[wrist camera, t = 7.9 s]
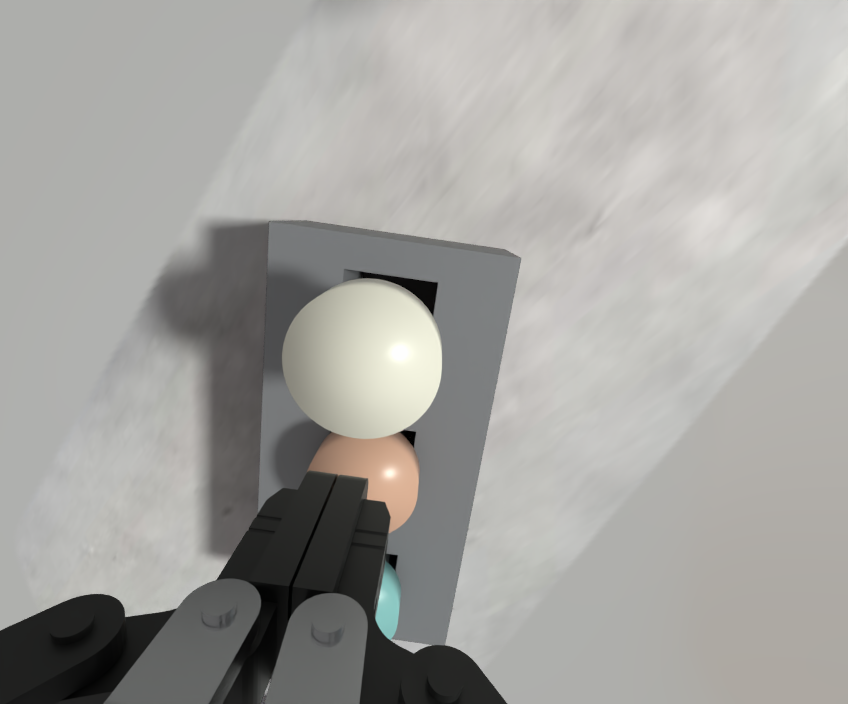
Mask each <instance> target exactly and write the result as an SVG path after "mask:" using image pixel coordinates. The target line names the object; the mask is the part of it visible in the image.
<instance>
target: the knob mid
mask: <svg viewBox="0 0 848 704" xmlns="http://www.w3.org/2000/svg"><path fill="white" fill-rule="evenodd" d="M407 432H408V431H407V430H402V431H400V432H397V433H395V434H393V435H389V436H386V437H381V438H375V439H359V438H351V437H346V436H342V435H339V434H336V433H334V432H331V433H330V434H329V435H328V436H327V437H326V438H325V439H324V440H323V442H322V443H321V445H320V447H319V449H318V451H317V453H316V454H315V456H314V458H313V460H312V462H311V464H310V466H309V468H308V470H307V472H308V471H309V470H311V471H318V472H325V473H332V474H338V476H339V475H348V476H355V477H362V478H368V493H367V499H368V500H375V501H382V502H385V503H386V506H387V508H388V511H389V513H390V516H391V520H390V528H389V533H391V532H392V531H394V530H396V529H397V528H399V527H400V526H402V525H403V524H404V523H405V522H406V521H407V519H408V518H409V517H410V516H411V514H412V512H413V510H414V508H415V505H416V502H417V496H418V485H419V473H420V467H419V460H418V457H417V454H416V452H415V450H414V448H413V446H412V445H411V443H410V442H409V441H408V440H407Z"/></svg>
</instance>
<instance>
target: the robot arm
mask: <svg viewBox="0 0 848 704" xmlns="http://www.w3.org/2000/svg"><path fill="white" fill-rule="evenodd" d="M367 493H368V478H362V477H355V476H348V475H339V476H338V474H332V473H325V472H318V471H311V470H309V471H308V472H307V473H306V475H305V477H304V479H303V480H302V482H301V484H300V486H299V488H298V490H296V489H289V488H282V489H281V490H279V491H278V492H277V493H275V494H274V495H272V496H271V497H270V498H268V499H267V500H266V501H265V503H264V505H263V506H262V508H261V509H260V511H259V513H258V514H257V518H255V519H254V521H253V522H252V524H251V526H250V527H249V531H247V532H246V534H245V535H244V537H243V538H242V540H241V542H240V543H239V545H238V546H237V548H236V550H235V551H234V553H233V554H232V556H231V558H230V559H229V561H228V562H227V564H226V566H225V567H224V569H223V570H222V572H221V574H220V575H219V577H218V578H217V580H216V581H212V582H209V583H207V584H205V585H203V586H201V587H199V588H197V589H196V590H194V591H193V592H192V593H190V594H189V595H188V596H187V597H186V598H185V599H184V600H183V602H182V603H181V604H180V605H179V607H178V608H177V609H173V610H170V611H165V612H159V613H152V614H145V615H138V616H130V617H125V611H124V607H123V605H122V604H121V602H120V601H119V600H117V599H116V598H114V597H112V596H109V595H104V594H90V595H84V596H79V597H76V598H73V599H70V600H67V601H65V602H62V603H60V604H58V605H56V606H53V607H51V608H49V609H47V610H45V611H42V612H40V613H38V614H36V615H34V616H31V617H29V618H27V619H25V620H23V621H21V622H18V623H16V624H14V625H12V626H9V627H7V628H5V629H3V630H1V631H0V704H260V703H261V701H262V698H263V695H264V693H265V690H266V687H267V685H268V682H269V680H270V678H272V679H271V682H270V686H269V689H268V693H267V696H266V699H265V703H264V704H507V703H506V702H505V700H504V699H503V698H502V697H501V695H500V694H499V693H498V691H497V690H496V689H495V688H494V686H493V685H492V684H491V682H490V681H489V680H488V678H487V677H486V676H485V675H484V673H483V672H482V671H481V669H480V668H479V667H478V665H477V664H476V663H475V662H474V661H473V660H472V659H471V658H470V657H469V656H468V655H466V654H465V653H463V652H462V651H460V650H458V649H456V648H453V647H450V646H445V645H432V646H428V647H425V648H423V649H420V650H419V651H417V652H416V653H414V654H413V653H412V652H410V651H408V650H406V649H404V648H402V647H400V646H398V645H396V644H395V643H393V642H392V641H390V640H389V639H388V638H387V637H386V636H385V635H384V634H383V633H382V631H381V630H380V628H379V626H378V624H377V622H376V619H375V618H376V612H377V607H378V601H379V596H380V590H381V585H382V579H383V574H384V568H385V561H386V553H387V544H388V536H389V528H390V520H391V516H390V513H389V511H388V508H387V506H386V503H385V502H382V501H375V500H368V499H367Z"/></svg>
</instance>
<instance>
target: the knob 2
mask: <svg viewBox="0 0 848 704" xmlns="http://www.w3.org/2000/svg"><path fill="white" fill-rule="evenodd" d="M389 557H390V554H387V553H386V561H385V568H384V574H383V579H382V585H381V590H380V596H379V601H378V607H377V612H376V618H375V619H376V622H377V624H378V626H379V628H380V630H381V631H382V633H383V634H384V635H385V636H386V637H387V638H388V639H389V640H391V639H392V637H393V636H394V634H395V632H396V629H397V625H398V616H399V607H400V598H401V584H400V580H399V578H398V575H397V573H396V572H395V570H394V569H393V568H392V566H391V565H390V564H389Z"/></svg>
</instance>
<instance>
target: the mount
mask: <svg viewBox="0 0 848 704" xmlns="http://www.w3.org/2000/svg"><path fill="white" fill-rule="evenodd" d="M520 263H521V258H520V257H518V256H516V255H514V254H513V253H511V252H509V251H507V250H505V249H498V248H491V247H485V246H478V245H471V244H464V243H457V242H450V241H443V240H436V239H429V238H423V237H416V236H409V235H402V234H395V233H388V232H381V231H374V230H367V229H361V228H354V227H347V226H340V225H333V224H326V223H319V222H312V221H269V237H268V262H267V288H266V314H265V339H264V365H263V391H262V416H261V442H260V468H259V493H258V513H259V511H260V509H261V508H262V506H263V505H264V503H265V501H266V500H267V499H268V498H270V497H271V496H272V495H274V494H275V493H277V492H278V491H279V490H281V489H282V488H289V489H296V490H298V488H299V486H300V484H301V482H302V480H303V479H304V477H305V475H306V473H307V470H308V468H309V466H310V464H311V462H312V460H313V458H314V456H315V454H316V453H317V451H318V449H319V447H320V445H321V443H322V442H323V440H324V439H325V438H326V437H327V436H328V435H329V434H330V433H331V432H332V431H329V430H327V429H325V428H324V427H322V426H320V425H319V424H317V423H316V422H314V421H313V420H312V419H311V418H309V417H308V416H307V415H306V414H305V413H304V412H303V411H302V410H301V408H300V407H299V406H298V404H297V403H296V402H295V400H294V398H293V397H292V395H291V393H290V391H289V389H288V387H287V384H286V381H285V377H284V373H283V367H282V351H283V344H284V340H285V336H286V334H287V331H288V329H289V327H290V325H291V323H292V321H293V320H294V318H295V317H296V316H297V314H298V313H299V312H300V311H301V309H303V308H304V307H305V306H306V305H307V304H308V303H309V302H311V301H312V300H314V299H315V298H316V297H318V296H320V295H321V294H323V293H324V292H326V291H327V290H329V289H330V288H332V287H334V286H336V285H338V284H340V283H343V282H346V281H349V280H355V279H362V277H363V272H368V273H375V274H382V275H389V276H396V277H403V278H410V279H417V280H424V281H430V282H437V288H436V295H435V301H434V308H433V315H432V316H433V318H434V320H435V322H436V324H437V326H438V329H439V332H440V337H441V342H442V372H441V380H440V384H439V388H438V391H437V393H436V396H435V398H434V400H433V402H432V403H431V405H430V407H429V408H428V409H427V411H426V412H425V413H424V414H423V415H422V416H421V417H420V418H419V419H418V420H417V421H416V422H414V423H413V424H412V425H411V426H409V427H407V428H406V429H404V430H407V431H414V432H415V437H414V444H413V448H414V450H415V452H416V454H417V457H418V460H419V467H420V473H419V485H418V496H417V502H416V505H415V508H414V510H413V512H412V514H411V516H410V517H409V518H408V519H407V521H406V522H405V523H404V524H403V525H402V526H400V527H399V528H397V529H396V530H394V531H392V532H391V533H389V536H388V544H387V554H390V557H389V564H390V565H391V566H392V568H393V569H394V570H395V572H396V573H397V575H398V578H399V580H400V584H401V598H400V607H399V616H398V625H397V629H396V632H395V634H394V636H393V637H392V639H395V640H402V641H408V642H415V643H422V644H429V645H445V642H446V637H447V632H448V627H449V622H450V617H451V612H452V607H453V602H454V597H455V592H456V587H457V582H458V576H459V571H460V566H461V561H462V556H463V551H464V546H465V541H466V536H467V531H468V526H469V521H470V516H471V511H472V506H473V501H474V495H475V490H476V485H477V480H478V475H479V470H480V465H481V460H482V455H483V450H484V445H485V440H486V435H487V430H488V425H489V420H490V414H491V409H492V404H493V399H494V394H495V389H496V384H497V379H498V374H499V369H500V364H501V359H502V354H503V349H504V344H505V339H506V334H507V328H508V323H509V318H510V313H511V308H512V303H513V298H514V293H515V288H516V283H517V278H518V273H519V268H520Z"/></svg>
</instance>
